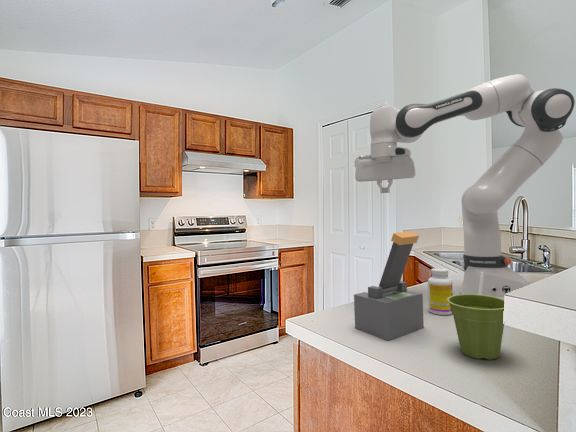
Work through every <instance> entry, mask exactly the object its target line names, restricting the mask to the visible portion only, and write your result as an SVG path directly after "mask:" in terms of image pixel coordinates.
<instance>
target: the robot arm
mask: <svg viewBox="0 0 576 432" xmlns="http://www.w3.org/2000/svg"><path fill="white" fill-rule="evenodd" d="M575 101H576V100H575V98H574V96H573V94H572V93H571V92H570V91H568V90H567V89H566V90H565V89H562V88H553V87H552V88H549V89H542V90H537V91H536V90H533V88H532V86H531V83H530V80H529V78H528V77H527V76H525V75H523V74H520V73H515V74H512V75H506V76H501V77H497V78H494V79H491V80H489V81H485V82H484V83H480V84H479V85H476V86H473V87H471V88H469V89H467V90H466V91H464V92H461V93H459V94H455V95H452V96H449V97H446V98H443V99H439V100H437V101H434V102H430V103H410V104H407V105H405V106H403V107H402V108H401V109H398V108H397V107H394V106H393V105H392V104H386V105H382V106H379V107H377V108H375V109H374V110H373V111H372V112H371V114H370V119H369V121H370V122H369V131H370V132H369V135H370V139H371V142H370V154H368V155H366V154H365V155H359V156H358V157H356V158H355V161H354V168H355V176H354V178H355V180H356V182H358V183H362V182H363V183H365V182H374V181H375V182H376V185H378V188H379V191H380V194H390V189H391V186H392V184H393V180H400V179H401V180H402V179H413V178H415V177H416V167H415V162H414V160H413V159H412V157H411V154H412V153H411V150H410V148H407V147H402V146H398V144H397V143H404V144H405V143H406V144H411V143H414V142H416V141H418V140H419V139H420V138H421V137H422V136H423V134H424V133H425V132H426V131H427V130H428V129H429V128H430V127H432V126H433V125H436V124H438V123H441V122H444V121H447V120H450V119H451V120H452V119H454V118H457V117H465V118H466V119H467V120H470V121H478V120H485V119H488V118H491V117H494V116H497V115H499V114H502V113H506V114H507V116H508V119H509V120H510V122H511V123H513V124H514V125H515V126H518V127H522V128H524V129H523V133H522V134H521V136H520V137H519V139H517V140H516V141H515V142H514V143H513V144H512V145H511V146H510V147H509V148H508V149H507V150H506V151H505V152H504V153H502V155H501V156H500V157H498V159H497V160H496V161H495V162H494V163H493V164H492V165H491V166H489V168H488V169H487V170H486V171H485V172H484V173H483V174H482V175H481V176H480V177H479V178H478V179H477V181H475V182H474V183H473V184H472V185H471V186H470V187H468V188H467V189H466V190H465V191H464V192H463V194H462V195H461V212H462V227H463V229H462V230H463V247H464V249H463V251H464V253H463V255H462V268H463V280H462V285H461V289H460V293H459V294H478V295H487V296H493V297H498V298H501V299H504V295H505V294H506V293H508V292H511V291H513V290H516V289H519V288H522V287H524V286H527V285H529V282H528V280H527V279H526V278H524V277H523V276H522V275H520V274H519V273H518V272H516V271H515V270H514V269H512V268H511V267H509V266H511V264H512V262H513V260H512V259H511V258H509V257H506V256H504V255H502V246H501V245H502V244H501V243H502V241H501V239H502V238H501V237H502V236H501V235H502V234H501V230H500V229H501V228H500V222H499V217H498V211H499V210H500V209H501V208H502V207H503V206H504V205H505V204H506V203H507V201H509V200H510V199H511V197H512V196H514V194H515V193H516V192H517V191H518V190H519V189H520V188H521V186H523V184H524V183H525V182H526V181H528V180H529V178H530V177H532V176H533V175H534V174H535V173H536V172H537V171H538V170H539V169H540V168H541V167H543V166H544V165H545V163H547V161H548V160H549V159H550V158H551V157H552V156H553V155H554V154H555V153H556V152H557V150H558V148H559V147H560V146H561V144H562V142H563V139H564V138H563V137H564V136H563V133H561V131H560V130H559V129H561V128H564V126H565V125H566V123H567V121H568V119H569V117H570V116H571V114H572V113H573V111H574V108H575V103H576V102H575ZM382 181H387V183H388V185H387V186H386V187H383V186H382V183H383V182H382Z"/></svg>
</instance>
